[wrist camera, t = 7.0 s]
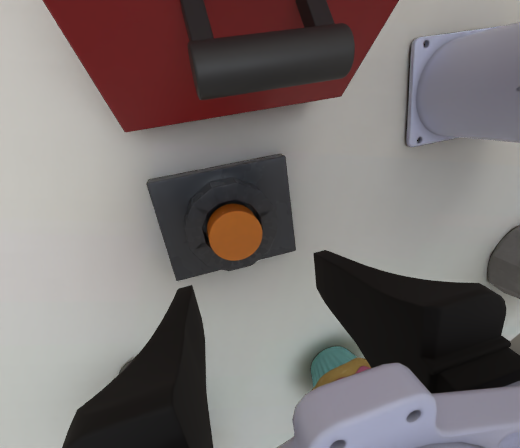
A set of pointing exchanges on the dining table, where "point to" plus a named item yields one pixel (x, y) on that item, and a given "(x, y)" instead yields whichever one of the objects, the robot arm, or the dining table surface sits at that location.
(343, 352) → the cupcake
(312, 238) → the dining table surface
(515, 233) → the coffeepot
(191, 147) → the dining table surface
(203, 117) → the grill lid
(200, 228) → the switch box
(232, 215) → the power button
